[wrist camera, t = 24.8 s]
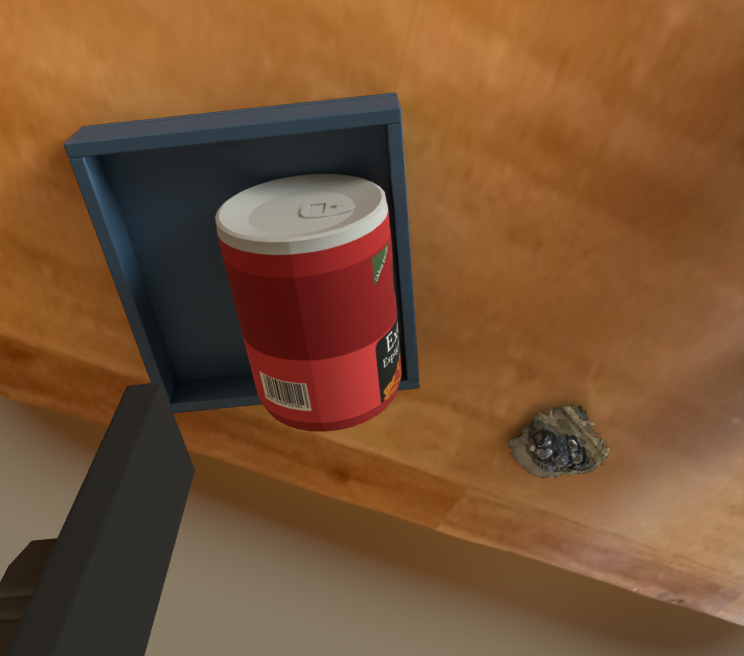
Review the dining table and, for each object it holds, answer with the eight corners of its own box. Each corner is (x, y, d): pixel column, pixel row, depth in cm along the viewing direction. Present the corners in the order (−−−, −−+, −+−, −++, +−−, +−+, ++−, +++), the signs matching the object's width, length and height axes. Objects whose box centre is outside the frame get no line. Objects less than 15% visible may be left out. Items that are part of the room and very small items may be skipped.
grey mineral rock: (552, 386, 42) (561, 405, 40) (637, 433, 45) (648, 452, 43) (487, 450, 45) (492, 470, 43) (570, 490, 48) (579, 511, 46)
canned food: (420, 416, 33) (406, 220, 27) (265, 451, 32) (215, 255, 26) (384, 336, 39) (366, 162, 33) (254, 363, 38) (211, 188, 32)
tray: (415, 361, 40) (419, 389, 38) (171, 386, 41) (162, 414, 38) (396, 92, 31) (401, 107, 29) (82, 126, 31) (62, 143, 29)
